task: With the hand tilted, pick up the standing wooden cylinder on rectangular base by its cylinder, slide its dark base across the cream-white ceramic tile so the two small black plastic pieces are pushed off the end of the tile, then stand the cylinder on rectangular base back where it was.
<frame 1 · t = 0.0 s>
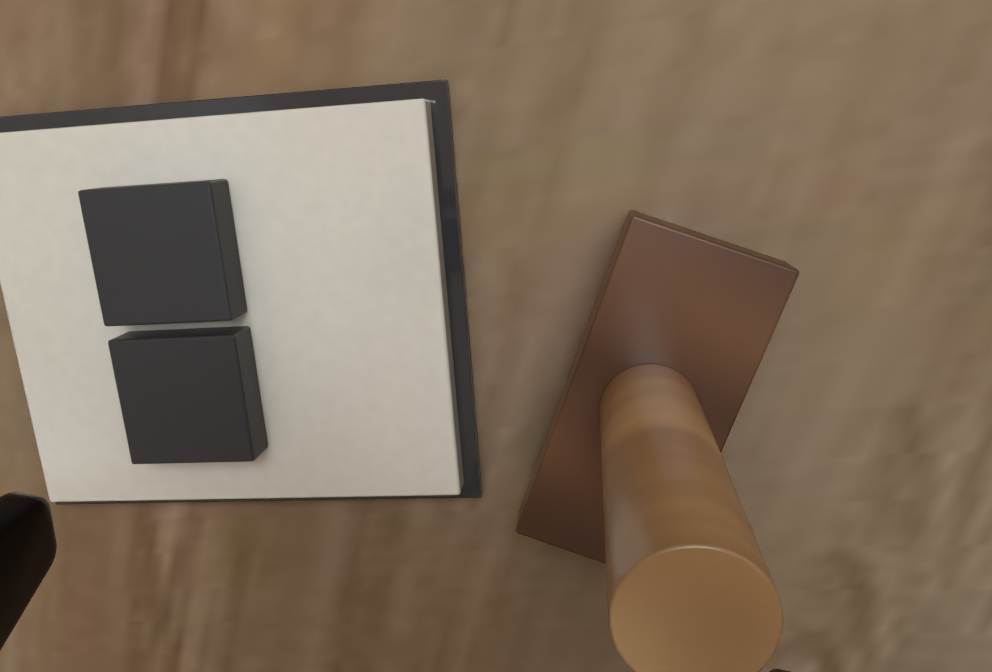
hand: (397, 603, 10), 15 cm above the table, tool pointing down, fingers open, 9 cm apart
black piece 1: (199, 389, 25), point 1 cm above the table, touching white tile
cylinder on rectangular base: (640, 370, 25), on the table
white tile: (235, 311, 26), on the table
black piece 2: (175, 250, 24), point 1 cm above the table, touching white tile
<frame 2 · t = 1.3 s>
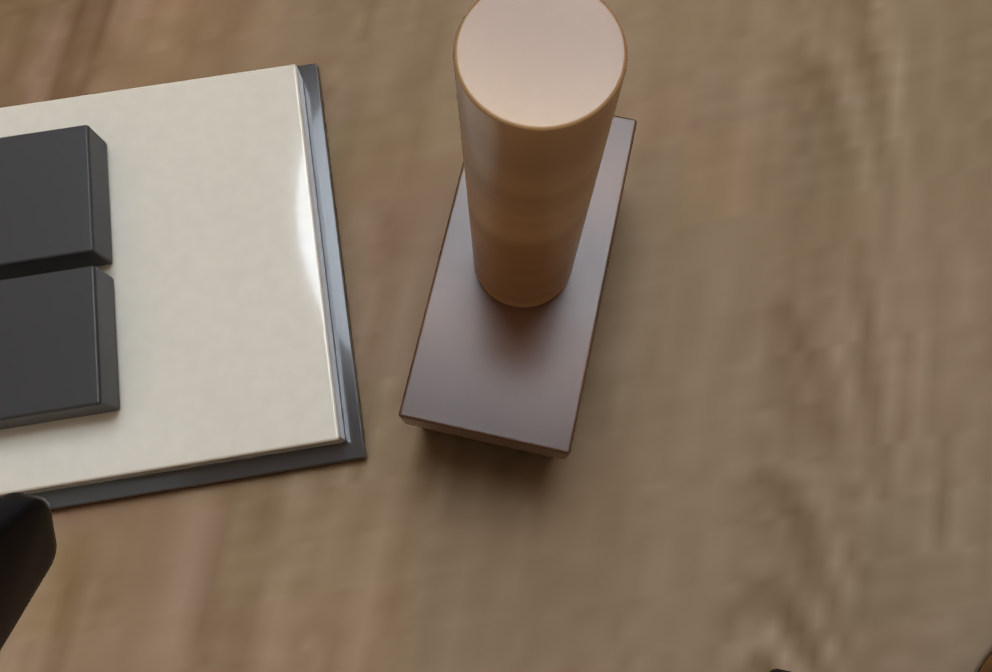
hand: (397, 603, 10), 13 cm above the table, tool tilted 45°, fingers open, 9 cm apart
black piece 1: (48, 353, 23), point 1 cm above the table, touching white tile
cylinder on rectangular base: (520, 299, 24), on the table
white tile: (100, 288, 25), on the table
black piece 2: (43, 212, 24), point 1 cm above the table, touching white tile
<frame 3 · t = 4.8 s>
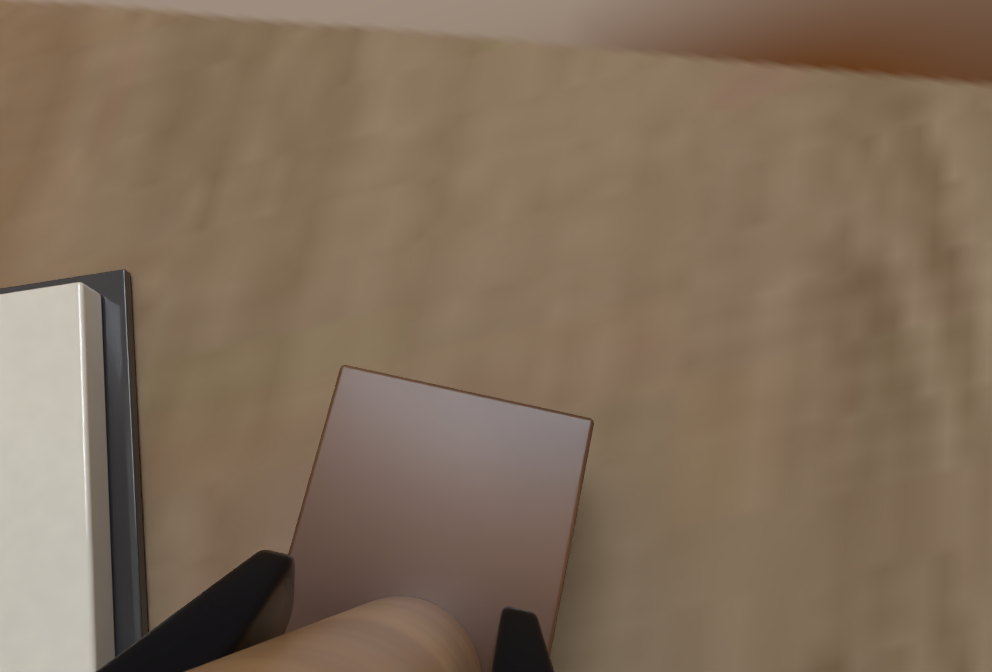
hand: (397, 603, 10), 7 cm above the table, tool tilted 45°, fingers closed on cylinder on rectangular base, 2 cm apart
cylinder on rectangular base: (419, 656, 16), on the table, touching gripper
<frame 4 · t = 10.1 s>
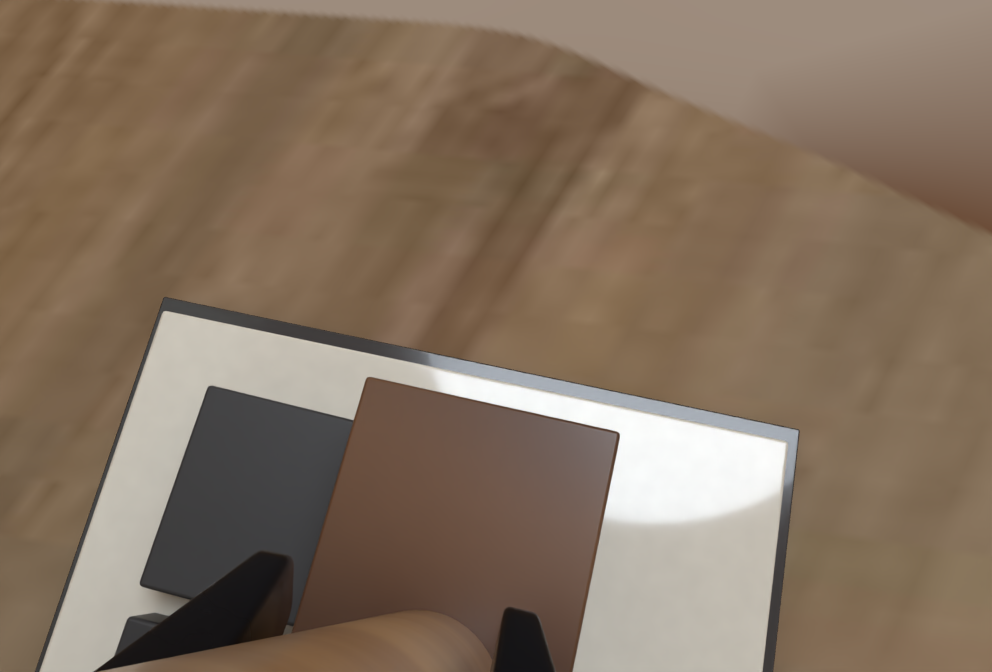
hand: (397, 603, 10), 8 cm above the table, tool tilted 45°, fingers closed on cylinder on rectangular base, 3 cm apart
white tile: (409, 656, 17), on the table
black piece 2: (286, 510, 17), point 1 cm above the table, touching cylinder on rectangular base, white tile
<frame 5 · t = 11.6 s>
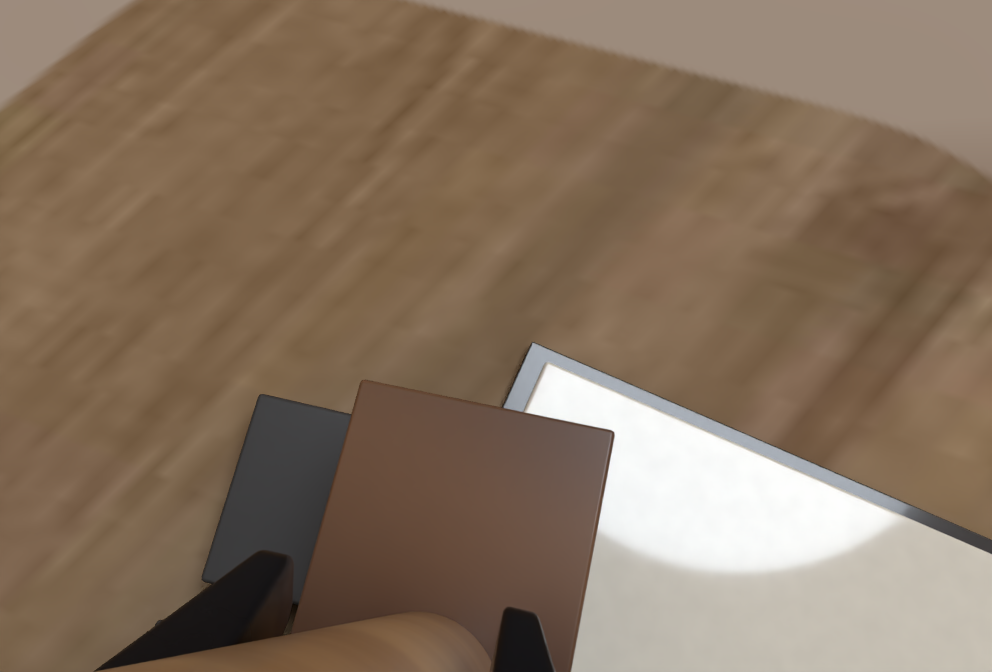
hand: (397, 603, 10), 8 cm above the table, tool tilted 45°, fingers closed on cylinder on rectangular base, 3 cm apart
black piece 2: (332, 508, 18), on the table
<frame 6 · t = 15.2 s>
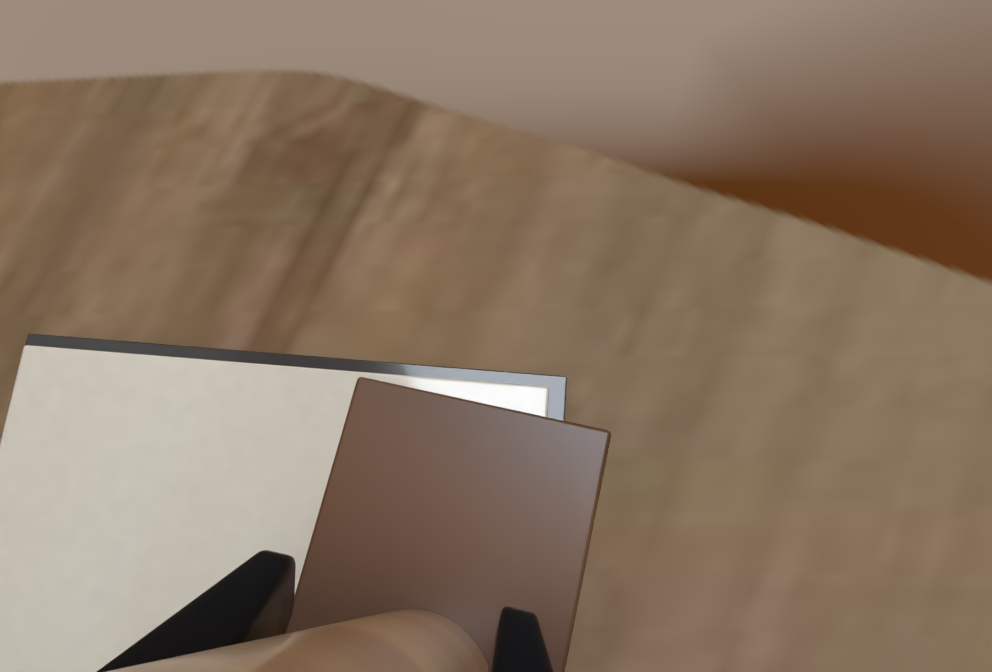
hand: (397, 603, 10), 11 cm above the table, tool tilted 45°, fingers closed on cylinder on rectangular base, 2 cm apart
white tile: (261, 601, 21), on the table
when the fingers open (7 cm above the table, at t = 18.2 s): cylinder on rectangular base stays where it is, on the table.
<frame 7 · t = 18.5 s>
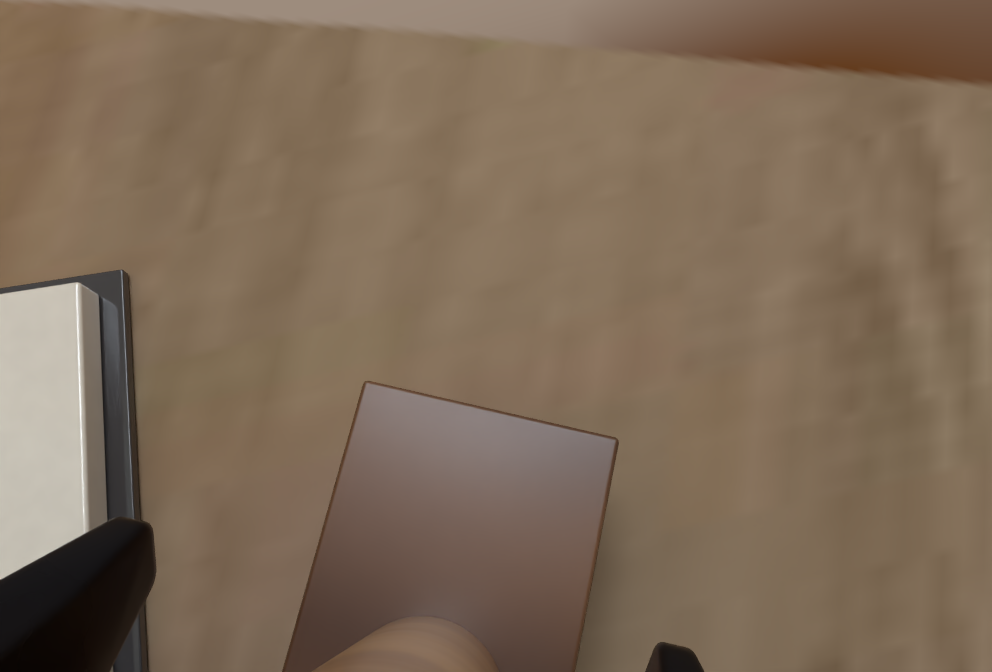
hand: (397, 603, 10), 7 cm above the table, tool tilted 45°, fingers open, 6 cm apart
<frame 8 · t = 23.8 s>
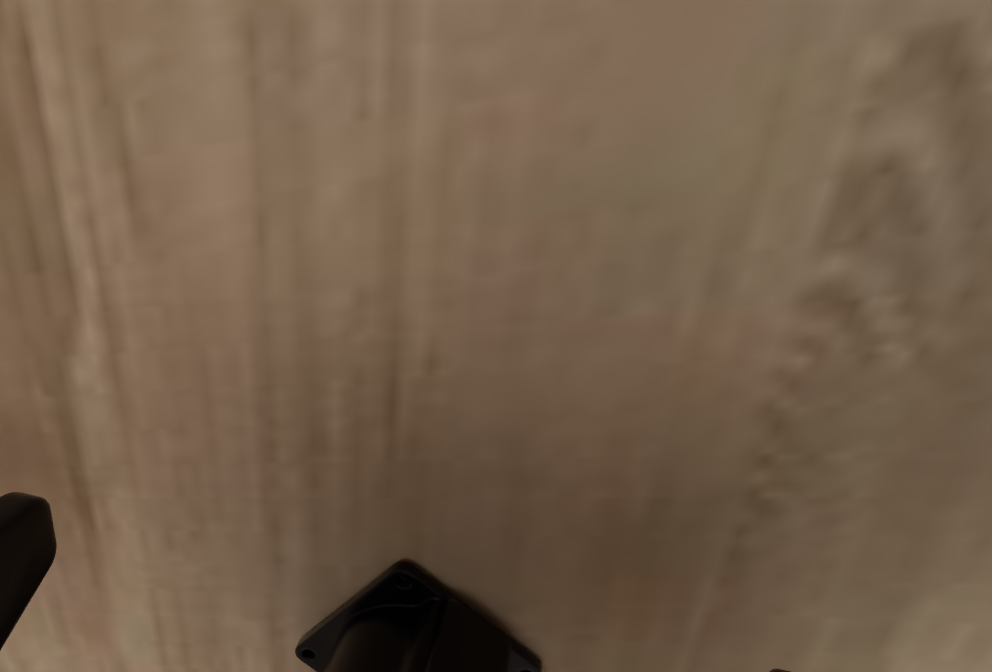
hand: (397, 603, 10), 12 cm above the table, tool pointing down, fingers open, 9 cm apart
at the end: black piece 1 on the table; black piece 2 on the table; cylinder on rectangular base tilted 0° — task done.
